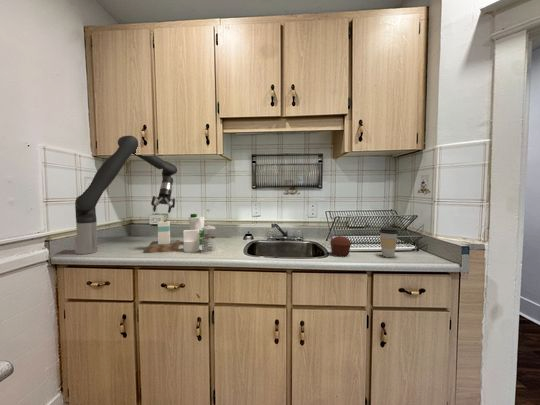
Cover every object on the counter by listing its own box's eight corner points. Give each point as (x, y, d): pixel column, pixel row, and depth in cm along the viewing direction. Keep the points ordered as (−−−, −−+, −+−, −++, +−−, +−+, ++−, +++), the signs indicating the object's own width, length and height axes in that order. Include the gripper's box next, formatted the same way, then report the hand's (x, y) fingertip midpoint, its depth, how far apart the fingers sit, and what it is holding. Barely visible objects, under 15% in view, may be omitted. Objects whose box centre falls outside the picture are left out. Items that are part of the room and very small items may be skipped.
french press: (212, 254, 134) (211, 209, 133) (194, 252, 137) (193, 209, 136) (220, 250, 143) (220, 208, 142) (203, 248, 147) (203, 208, 146)
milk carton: (194, 242, 166) (193, 213, 165) (206, 242, 164) (206, 213, 163) (187, 245, 157) (186, 214, 156) (200, 245, 155) (199, 214, 155)
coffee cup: (383, 253, 138) (384, 227, 137) (400, 256, 130) (401, 229, 130) (375, 255, 132) (375, 228, 131) (392, 259, 125) (393, 230, 124)
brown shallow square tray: (147, 253, 137) (147, 246, 136) (152, 246, 152) (152, 241, 152) (177, 251, 141) (177, 244, 141) (179, 245, 156) (179, 239, 156)
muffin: (326, 255, 133) (327, 237, 133) (333, 251, 142) (333, 234, 142) (348, 258, 127) (349, 239, 126) (353, 253, 136) (354, 236, 136)
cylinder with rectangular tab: (200, 248, 149) (200, 229, 148) (198, 251, 140) (198, 231, 139) (185, 248, 147) (185, 229, 147) (182, 252, 138) (181, 231, 138)
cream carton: (158, 244, 143) (157, 220, 142) (159, 242, 148) (159, 219, 148) (169, 243, 144) (168, 220, 144) (170, 241, 150) (169, 219, 150)
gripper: (153, 186, 160) (148, 208, 152) (176, 189, 163) (172, 210, 156) (155, 191, 166) (150, 213, 159) (177, 194, 170) (173, 215, 162)
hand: (161, 211), depth 157 cm, fingers open, 8 cm apart
